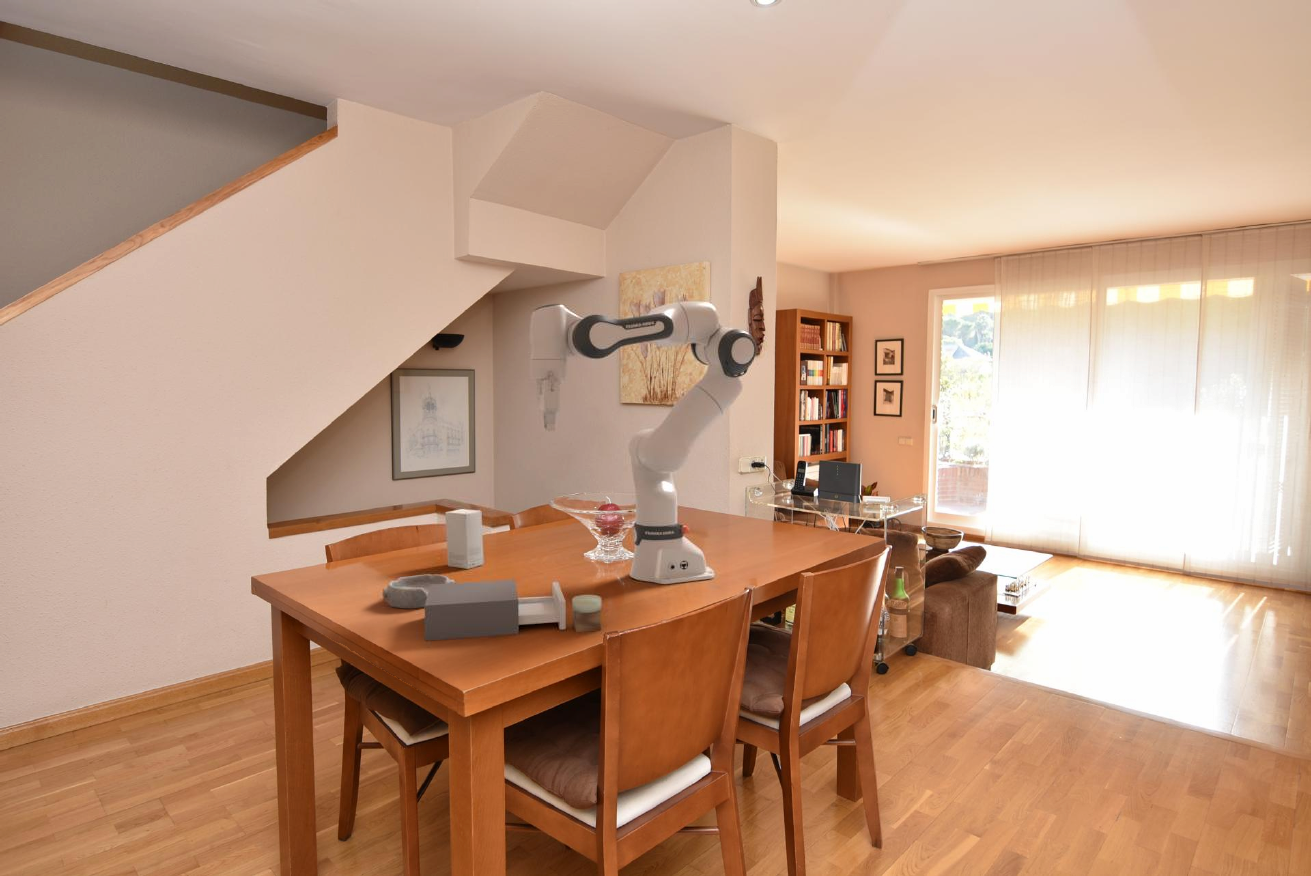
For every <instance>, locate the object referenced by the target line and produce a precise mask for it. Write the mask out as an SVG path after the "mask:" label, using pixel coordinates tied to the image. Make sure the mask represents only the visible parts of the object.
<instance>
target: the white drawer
mask: <svg viewBox="0 0 1311 876" xmlns="http://www.w3.org/2000/svg"><path fill="white" fill-rule="evenodd" d="M566 602H567V601H566V599H565V596H564V594H563V591H562V589H561V586H560V584H559V582H558V581H553V582H552V595H549V596H548V595H547V596H534V597H533V596H532V597H518V616H519V626H520V625H535V624H546V623H547V624H548V623H557V625H558V629H559V630H566V629H567V628H566V623H567V622H566V621H567V620H566V616H567V615H566V614H567V610H566V609H567V607H566Z"/></svg>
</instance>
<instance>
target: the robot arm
mask: <svg viewBox="0 0 1311 876" xmlns="http://www.w3.org/2000/svg"><path fill="white" fill-rule="evenodd" d="M719 318H720V317H719V313H718V310H717V309H716V308H715V306H714V304H711V303H710V302H707V301H701V300H699V301H697V300H696V301H695V300H693V301H691V300H690V301H687V300H686V301H679V302H678V301H677V302H671V303H666V304H663V305H659V306H657V307H653V308H652V309H650V310H649V311H648V312H647V314H645V315H641V316H640V315H639V316H633V317H629V318H619V319H617V318H612V317H608V316H605V315H602V314H591V315H588V316H585V317H584V318H583V317H581V316H579V315H577V314H575V313H574V312H572V311H571V310H569V309H567V307H566V306H565V305H563V304H560V303H553V304H552V303H551V304H545V305H542V306H538V307H537V308H536V309H534V310H533V312H532V314H531V318H530V325H529V326H530V327H529V344H530V347H531V354H530V359H529V361H530V362H529V363H530V364H529V365H530V366H529V367H530V371H529V373H530V374H529V375H530V378H529V379H530V380H531V381H535V387H536V393H537V395H536V396H537V401H538V402H537V403H538V408H539V410H540V411H542V417H543V429H544V430H546V431H547V432H554V431H555V430H556V417H557V413H558V412H560V410H561V387H563V381H565V380H568V357H570V358H574V359H576V360H582V361H583V360H590V359H591V360H592V359H597V360H601V359H603V358H606V357H608V356H609V355H611V354H612V353H614V352H616V351H617V350H618V349H620V348H622V347H625V346H631V345H636V344H637V345H638V344H642V343H651V344H653V345H654V346H655V347H658V348H659V347H661V348H668V347H669V348H670V347H679V346H685V345H690V349H691V353H692V356H693V357H694V358H695V360H696V361H698V362H699V363H700V364H702V365H705V366H708V367H707V369H706V372H705V374H704V375H703V377H702V378H701V379H700V380H699V381H697V382H696V383H695V384H694V385H693V386H692V387H691V388H690V389H689V390H688V391H687V392H685V394H684V395H683V396H682V397H681V398H680V399H679V400H678V401H676V402H675V403H674V405H673V406H672V408H671V410H670V412H669V413H668V415H667V416H666V417H665V419H664V420H663V421H662V422H661V424H660V425H659V426H657V427H656V428H644V429H642V430H640V431H638V432H636V433H635V434H634V435H633V436H632V437H631V438H630V440H629V444H628V454H629V457H630V461H631V470H632V471H631V472H632V478H633V483H634V493H635V522H634V523H633V543H634V550H633V551H634V553H633V559H632V564H631V568H630V571H629V577H630V578H633V579H635V580H638V581H643V582H651V583H656V584H660V585H669V584H677V583H686V582H693V581H702V580H712V579H714V578H715V571H714V570H713V569H712V568H711V567H709V566H708V565H707V564H706V563H707V562H706V558H705V555H704V552H703V551H702V550H701V549H700V548H699V547H698V546H697V545H695V544H694V543H693V542H692V541H691V540H689V539H688V538H686V536H685V535H688V534H689V533H690V531H691V530H690V527H689V526H687V525H684V524H681V523H679V522H678V492H677V489H676V487H675V482H674V477H673V472H677V471H679V470H680V469H682V468H683V466H684V465H685V464H686V462H687V459H688V456H689V454H690V453H692V450H694V447H695V446H696V444H697V443H698V441H700V439H701V438H702V436H703V435H705V433H706V432H707V431H708V430H709V429H710V428H712V426H713V425H714V424H715V423H716V422H717V421H718V420H719V419H720V418H722V417H723V415H724V414H725V413H726V412H727V411H728V410H729V409H730V407H731V406H732V405H733V404H734V403H735V402H736V401H737V398H739V396H740V394H741V393H742V391H743V386H744V385H743V381H742V378H741V377H742V376H744V375H745V374H747V372H748V370H749V368H750V366H751V365H752V363H753V362H754V360H755V358H756V355H757V342H756V340H755V338H754V337H753V336H752V335H751V334H750V333H748V332H746V330H743V329H738V328H733V327H729V326H728V327H727V326H722V325H721V324H720V319H719Z"/></svg>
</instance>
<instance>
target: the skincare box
mask: <svg viewBox="0 0 1311 876" xmlns="http://www.w3.org/2000/svg"><path fill="white" fill-rule="evenodd" d="M444 514H445V530H446V531H445V533H446V552H447V566H448V567H453V568H459V569H465V570H469V569H473V568H477V567H480V566H484V544H483V543H484V541H483V540H484V539H483V522H482V521H483V519H482V510H475V509H463V508H461V509H455V510H451V511H446V512H444Z"/></svg>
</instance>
